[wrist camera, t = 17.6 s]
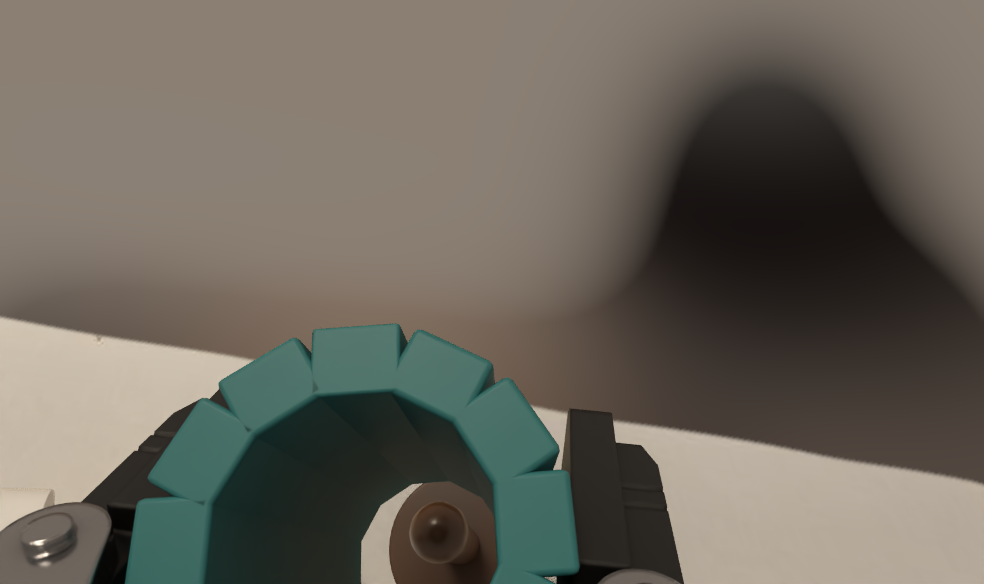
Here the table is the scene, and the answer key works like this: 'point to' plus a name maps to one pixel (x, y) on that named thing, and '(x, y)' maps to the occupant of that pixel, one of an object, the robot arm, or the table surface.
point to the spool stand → (443, 537)
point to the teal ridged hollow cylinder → (348, 464)
